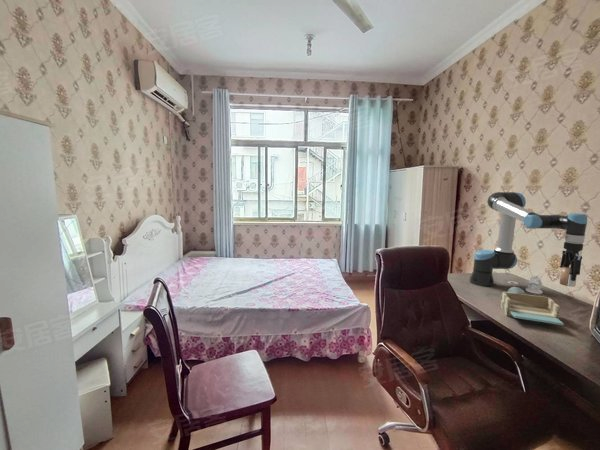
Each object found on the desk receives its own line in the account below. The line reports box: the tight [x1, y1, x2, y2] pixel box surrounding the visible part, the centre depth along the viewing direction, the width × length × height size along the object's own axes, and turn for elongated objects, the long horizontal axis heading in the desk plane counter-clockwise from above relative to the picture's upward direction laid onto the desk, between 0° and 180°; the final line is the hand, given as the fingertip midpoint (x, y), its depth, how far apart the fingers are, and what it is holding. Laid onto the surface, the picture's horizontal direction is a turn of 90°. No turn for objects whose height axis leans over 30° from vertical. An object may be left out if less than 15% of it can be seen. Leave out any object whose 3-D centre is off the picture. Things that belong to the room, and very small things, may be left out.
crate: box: [499, 291, 561, 320], centre depth 160 cm, size 14×22×9 cm, turn 67°
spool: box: [507, 286, 527, 294], centre depth 178 cm, size 14×10×10 cm
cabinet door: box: [510, 311, 565, 326], centre depth 149 cm, size 1×20×9 cm
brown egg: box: [559, 266, 578, 288], centre depth 160 cm, size 6×6×9 cm
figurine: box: [525, 275, 544, 295], centre depth 195 cm, size 12×9×10 cm
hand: (567, 283), depth 160 cm, fingers closed on brown egg, 6 cm apart
